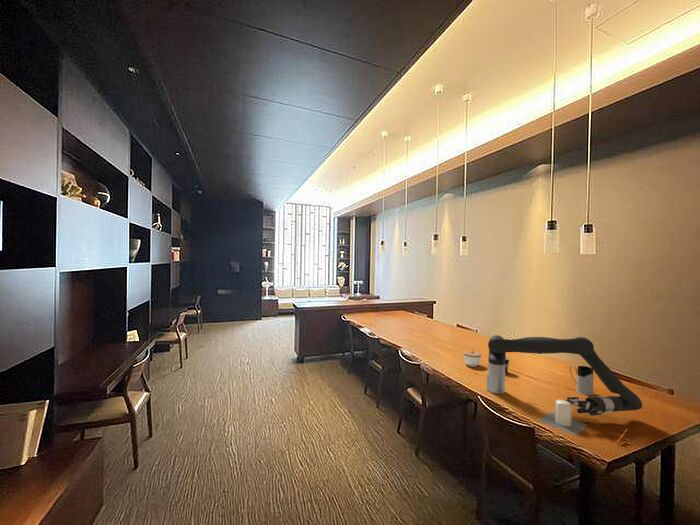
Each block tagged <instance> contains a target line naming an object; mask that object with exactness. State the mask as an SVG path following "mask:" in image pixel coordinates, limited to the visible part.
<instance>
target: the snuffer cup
mask: <svg viewBox="0 0 700 525" xmlns="http://www.w3.org/2000/svg"><path fill="white" fill-rule="evenodd" d="M565 400H566V399H556V400H555V402H554V413H555V422H556V423H557V424H560V425H562V426H571V425H572V420H573V419H572V418H573V417H572V416H573V414H572V413H573V405H571V403H570V402H568V401H565Z"/></svg>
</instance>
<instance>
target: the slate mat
mask: <svg viewBox="0 0 700 525" xmlns="http://www.w3.org/2000/svg"><path fill="white" fill-rule="evenodd" d="M538 422H539V423H543V424H545V425H548V426H551V427H554V428H556V429H559V430H562V431H564V432H567V433H570V434H572V435H574V436H579V434H581V433H582V431H583V430H585V428H587V426H588V424H587V423H583V422H580V421H578V420H575V419H572V425H571V426H562V425H560V424H557V423H556V422H555V412H552V411H549V413H546V415H544V416H543V417H541V419H539V420H538Z"/></svg>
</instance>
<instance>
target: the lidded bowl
mask: <svg viewBox="0 0 700 525" xmlns="http://www.w3.org/2000/svg"><path fill="white" fill-rule="evenodd" d="M463 361H464V362H465V364H466V365H467V366H468V367H471V368H474V367H475V368H476V367H477V366H479V365H480V364H481V361H482V353H481V352H478V351H474V350H465V351H463Z"/></svg>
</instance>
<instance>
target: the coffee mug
mask: <svg viewBox="0 0 700 525" xmlns="http://www.w3.org/2000/svg"><path fill="white" fill-rule="evenodd" d="M509 363H510V358H509V357H507V356H506V357H505V374H508V371H509Z"/></svg>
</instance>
